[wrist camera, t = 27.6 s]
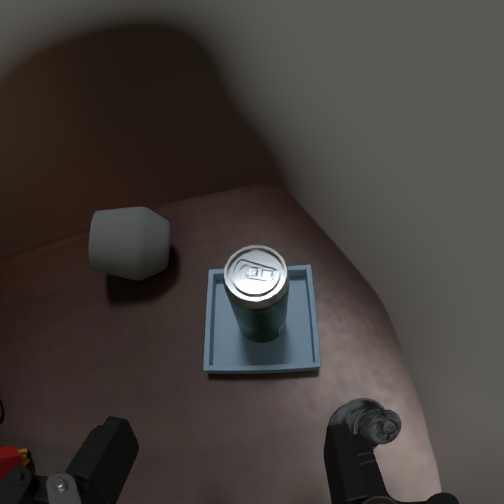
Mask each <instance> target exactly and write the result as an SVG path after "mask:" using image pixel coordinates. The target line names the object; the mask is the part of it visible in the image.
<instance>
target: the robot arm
mask: <svg viewBox="0 0 504 504" xmlns="http://www.w3.org/2000/svg"><path fill="white" fill-rule="evenodd" d="M85 440H86V441H84V443H83V444H82V446H81V448H80V449H79V450H78V452H77V453H76V455H75V457H74V458H73V460H72V461H71V463H70V465H69V466H68V468H67V469H66V471H65V472H56V473H54V474H52V475H51V476H50V477H44V476H38V475H33V474H32V473H31V471H30V470H29V469H28V468H27V467H25V466H22V465H18V466H14V467H12V468H11V469H10V470H9V471H8V473H7V474H6V476H5V477H4V479H3V481H2V482H1V484H0V504H116V502H117V500H118V497H119V495H120V493H121V491H122V488H123V486H124V484H125V481H126V479H127V477H128V475H129V472H130V470H131V468H132V465H133V463H134V461H135V459H136V456H137V454H138V450H139V445H138V441H137V439H136V437H135V435H134V433H133V430H132V428H131V426H130V424H129V422H128V420H126V419H122V418H117V417H112V416H110V417H108V418H107V419H106V421H105V423H104V424H103V426H102V425H99V426H97V427H96V428H95V429H93V430H92V431H91V432H90V433H89V435H88V436H87V438H86V439H85ZM324 461H325V467H326V473H327V478H328V484H329V490H330V496H331V502H332V504H459V502H458V500H457V499H456V497H455V496H453V495H452V494H449V493H438V494H435V495H433V496H431V497H430V498H429V499H428V500H427V501H421V502H400V501H397V500H395V499H393V498H392V497H391V496H390V495H389V494H388V493H387V491H386V488H385V485H384V482H383V479H382V476H381V473H380V470H379V467H378V464H377V462H376V458H375V455H374V454H373V450H372V447H371V444H370V441H369V440H368V439H367V438H366V437H365V436H364V435H363V434H361V433H359V434H354V435H351V431H350V428H349V425H348V423H343V424H336V425H328V427H327V433H326V439H325V445H324Z"/></svg>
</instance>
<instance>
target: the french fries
mask: <svg viewBox="0 0 504 504" xmlns="http://www.w3.org/2000/svg"><path fill="white" fill-rule="evenodd" d="M26 454H27V449H26V448H25V449H20V450H19V449H18V450H16V449H15V448H14V446H6V447H0V484H1V482H2V481H3V479H4V477H5V476H6V474H7V473H8V471H9V470H10V469H11V468H12V467H14V466H18V465H22V466H25V467H26V464H28V463H29V462H30V460H29V458H26V457H27V456H26Z"/></svg>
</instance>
